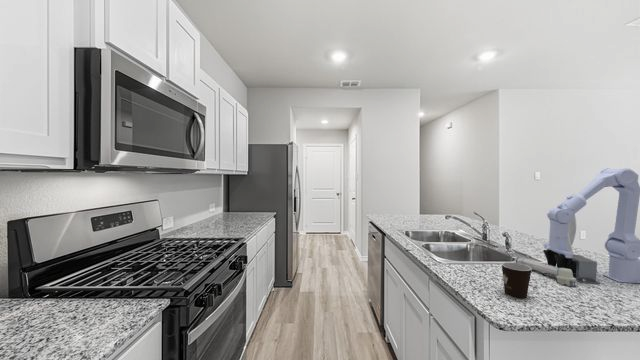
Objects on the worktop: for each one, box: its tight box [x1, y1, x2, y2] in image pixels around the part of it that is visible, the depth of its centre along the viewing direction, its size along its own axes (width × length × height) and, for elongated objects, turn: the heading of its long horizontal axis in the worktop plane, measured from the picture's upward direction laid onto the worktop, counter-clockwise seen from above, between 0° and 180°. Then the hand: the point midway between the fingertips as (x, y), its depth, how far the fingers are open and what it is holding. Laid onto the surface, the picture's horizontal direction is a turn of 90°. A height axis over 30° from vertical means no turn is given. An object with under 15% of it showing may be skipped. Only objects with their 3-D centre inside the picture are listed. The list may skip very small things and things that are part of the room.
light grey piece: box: [515, 257, 577, 287], centre depth 119 cm, size 5×7×25 cm
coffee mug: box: [501, 261, 533, 300], centre depth 101 cm, size 12×9×10 cm
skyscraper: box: [559, 214, 577, 255], centre depth 137 cm, size 8×8×28 cm
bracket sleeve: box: [566, 254, 601, 285], centre depth 117 cm, size 6×14×8 cm, turn 170°
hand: (556, 270), depth 118 cm, fingers open, 5 cm apart
